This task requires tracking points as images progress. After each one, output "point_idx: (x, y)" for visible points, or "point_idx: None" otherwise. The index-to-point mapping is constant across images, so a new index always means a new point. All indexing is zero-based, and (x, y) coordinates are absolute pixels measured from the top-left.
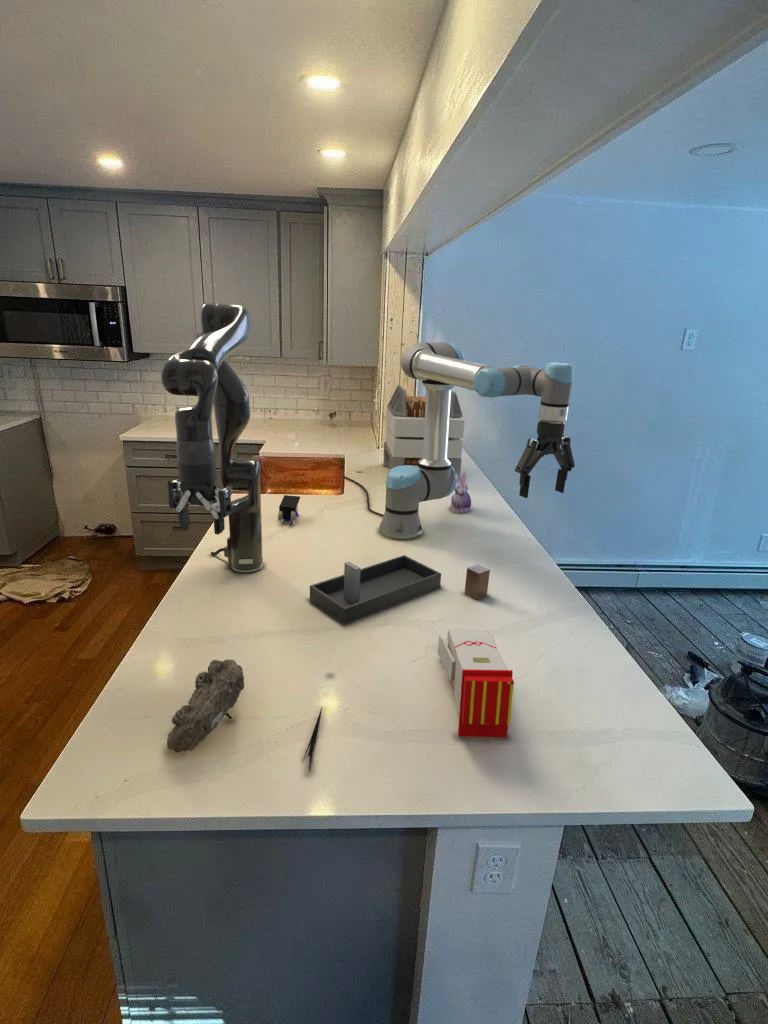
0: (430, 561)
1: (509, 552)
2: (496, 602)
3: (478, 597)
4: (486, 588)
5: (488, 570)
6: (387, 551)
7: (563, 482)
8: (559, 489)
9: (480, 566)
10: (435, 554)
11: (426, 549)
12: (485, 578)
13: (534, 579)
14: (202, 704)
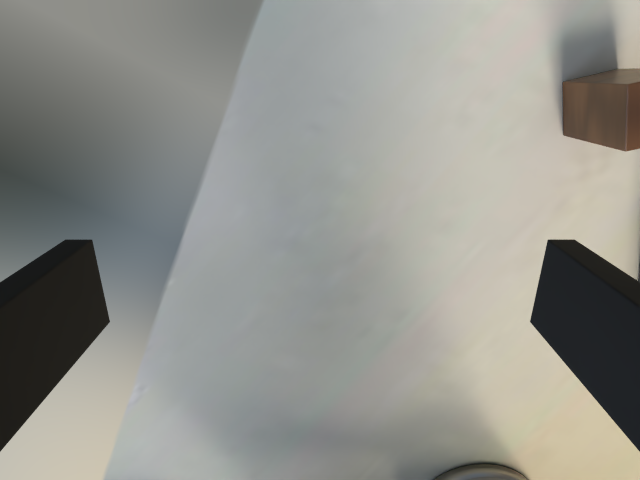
0: (536, 340)
1: (264, 307)
2: (574, 23)
3: (613, 70)
4: (586, 80)
5: (636, 82)
6: (593, 428)
7: (10, 295)
8: (85, 284)
9: (635, 126)
10: (488, 371)
11: (487, 404)
12: (629, 77)
13: (324, 113)
14: None
